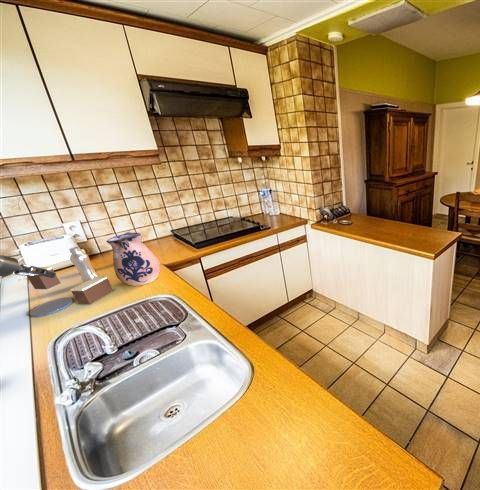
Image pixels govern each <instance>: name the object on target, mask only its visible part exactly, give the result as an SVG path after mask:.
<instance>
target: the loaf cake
mask: <svg viewBox="0 0 480 490" xmlns="http://www.w3.org/2000/svg"><path fill="white" fill-rule="evenodd" d="M69 290H70V292H71V293H72V295H73V297H74V298H75V300H76V302H77V303H78V305H91V304H93V303H95V302H96V301H98V300H101V298H103V297H105V296H107V295H108V294H110V293H112V292H114V288H113V287H112V284H111V283H110V281H109V279H108V277H107V276H100V277H94V278H92V279H90V280H88V281H86V282H84V283H83V282H82V283H80V284H78V285H76V286H74V287H72V288H70V289H69Z"/></svg>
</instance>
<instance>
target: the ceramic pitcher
mask: <svg viewBox="0 0 480 490" xmlns="http://www.w3.org/2000/svg"><path fill="white" fill-rule="evenodd" d="M141 236H142V233H140V232H130V231H127V232H125V233H122V234H119V235H116V236H113V237H109V238H108V239H107V240H106V243H107V244H109V245H110V246H111V249H112V261H113V270H114V273H115V276H116V277H117V279H118V280H119V281H120V282H122V283H124V284H125V285H128V286H132V287H133V286H134V287H139V286H143V285H147V284H150V283H152V282H153V281H155V280H156V279H157V278H158V277H159V276H160V275H159V274H160V272H161V269H162V266H161V262H160V261H159V259H158V257H157V256H156V255H155V254H154V253H153V252H152V251H151V250H150V249H149V248H148V246H147V245H146V244H144V242H143V241H142V240H141Z"/></svg>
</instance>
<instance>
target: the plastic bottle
mask: <svg viewBox="0 0 480 490" xmlns="http://www.w3.org/2000/svg"><path fill="white" fill-rule="evenodd" d="M68 250H69V252H70V254H71V255H70V257H69V261H70V262H71V264H73V265H74V267H75V268H76V269H77V271H78V272H79V275H80V279H81V282H82V283H84V282H86V281H88V280H90V279H92V278H94V277H101V276H100V275H99V273H97V272H96V270H95V268H94V267H93V265H92V263H91V260H90V259H91V258H90V257H89V255H88V253H86V252H84V251H82V249H81V247H80V246H74V247H70V248H69V249H68Z"/></svg>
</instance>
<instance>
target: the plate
mask: <svg viewBox="0 0 480 490" xmlns="http://www.w3.org/2000/svg"><path fill="white" fill-rule="evenodd" d="M73 302H74V300H73V298H72V297H61V298H56V299H52V300H50V301H47V302H45V303H42V304H40V305H38V306H36V307H34V308H33V309H31V310H30V312H29V316H30V317H32V318H38V317H39V318H40V317H44V316H47V315H51V314H54V313H57V312H59V311H62V310H63V309H66V308H67V307H69V306H70V305H72V303H73Z"/></svg>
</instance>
